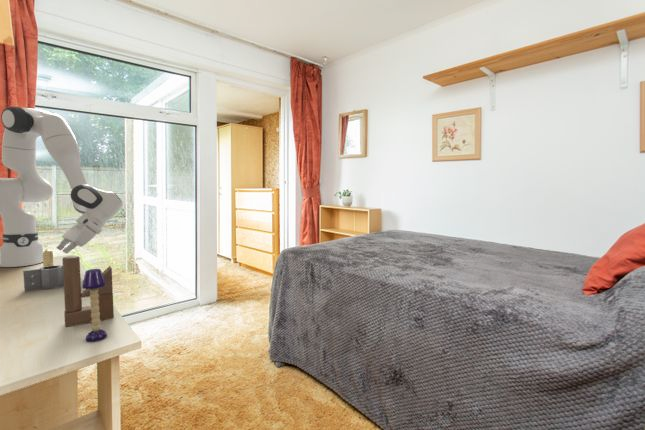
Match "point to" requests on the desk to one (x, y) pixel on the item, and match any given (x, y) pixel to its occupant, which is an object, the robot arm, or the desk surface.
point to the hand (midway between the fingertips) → (61, 250)
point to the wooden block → (84, 294)
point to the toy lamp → (94, 302)
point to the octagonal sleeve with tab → (43, 278)
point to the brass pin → (48, 258)
